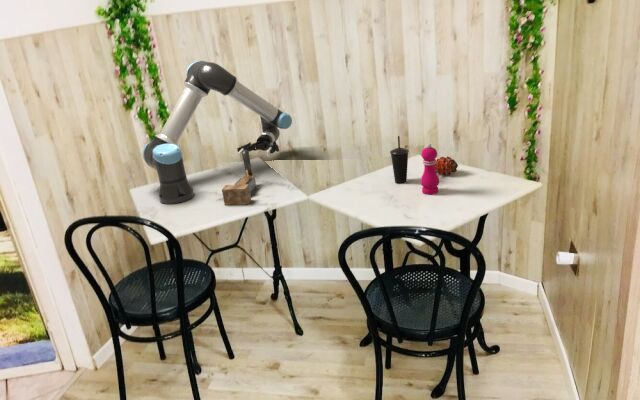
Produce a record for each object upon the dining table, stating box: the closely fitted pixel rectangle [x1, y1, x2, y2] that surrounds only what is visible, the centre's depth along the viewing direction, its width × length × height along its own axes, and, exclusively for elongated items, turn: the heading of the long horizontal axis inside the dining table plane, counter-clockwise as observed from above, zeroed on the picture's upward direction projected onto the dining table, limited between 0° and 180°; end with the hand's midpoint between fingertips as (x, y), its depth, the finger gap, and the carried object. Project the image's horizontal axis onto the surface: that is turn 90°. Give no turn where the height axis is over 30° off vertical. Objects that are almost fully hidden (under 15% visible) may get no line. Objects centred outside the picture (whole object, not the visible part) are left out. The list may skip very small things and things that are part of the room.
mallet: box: [236, 150, 256, 185], centre depth 227 cm, size 4×15×15 cm, turn 170°
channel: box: [234, 176, 257, 197], centre depth 228 cm, size 7×10×5 cm
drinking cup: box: [389, 135, 410, 185], centre depth 217 cm, size 8×8×20 cm
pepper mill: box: [420, 143, 440, 196], centre depth 204 cm, size 7×7×20 cm
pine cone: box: [435, 156, 459, 177], centre depth 223 cm, size 8×8×12 cm
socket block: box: [221, 184, 252, 206], centre depth 218 cm, size 10×5×7 cm, turn 80°
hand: (253, 155), depth 238 cm, fingers open, 13 cm apart
